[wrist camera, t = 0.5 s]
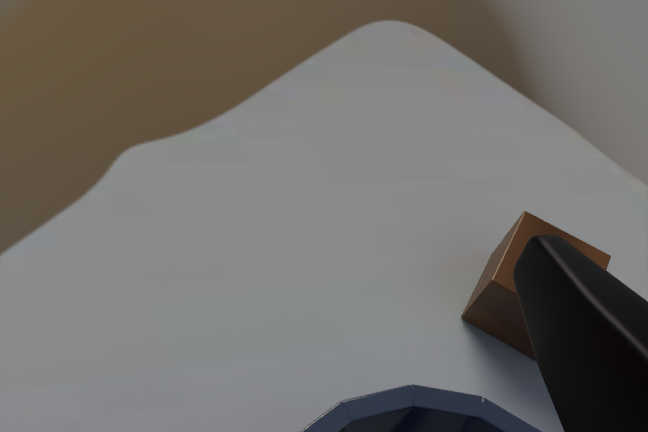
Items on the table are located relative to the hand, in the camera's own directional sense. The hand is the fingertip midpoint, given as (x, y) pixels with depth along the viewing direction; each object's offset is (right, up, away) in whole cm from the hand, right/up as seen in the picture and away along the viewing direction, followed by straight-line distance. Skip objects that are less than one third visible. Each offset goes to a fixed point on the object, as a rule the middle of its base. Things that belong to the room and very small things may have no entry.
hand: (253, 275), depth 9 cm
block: (+10, -4, +21) cm, 23 cm away
